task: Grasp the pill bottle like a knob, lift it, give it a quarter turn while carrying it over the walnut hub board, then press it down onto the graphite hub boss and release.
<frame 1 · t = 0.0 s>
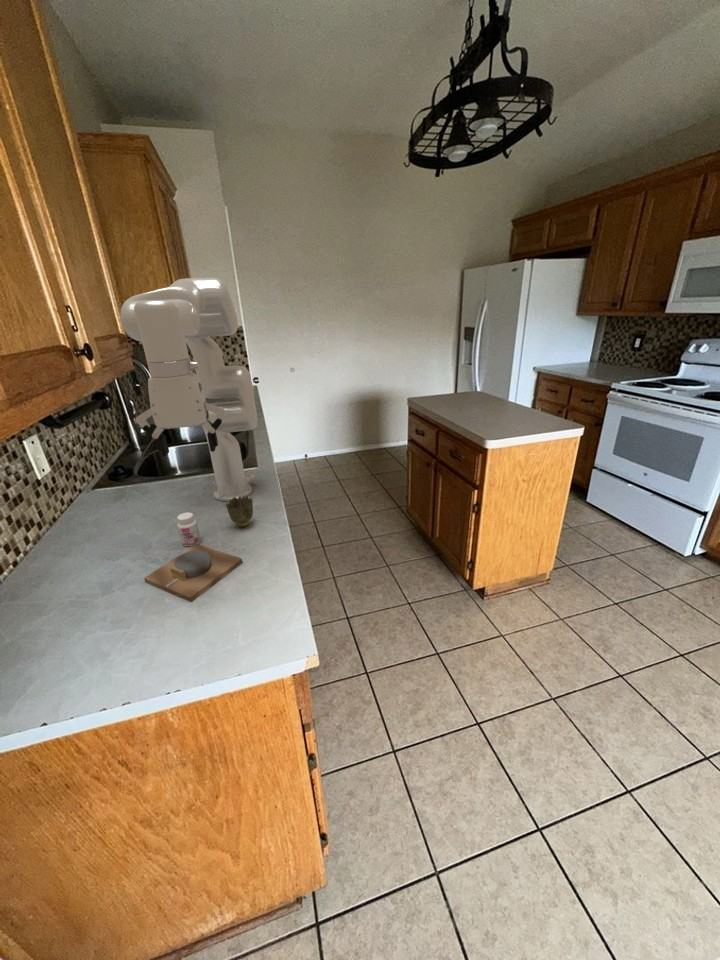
hand: (190, 452, 84), 31 cm above the counter, tool pointing down, fingers open, 9 cm apart
pill bottle: (191, 542, 109), on the counter
hub board: (195, 571, 97), on the counter
cup: (243, 526, 117), on the counter
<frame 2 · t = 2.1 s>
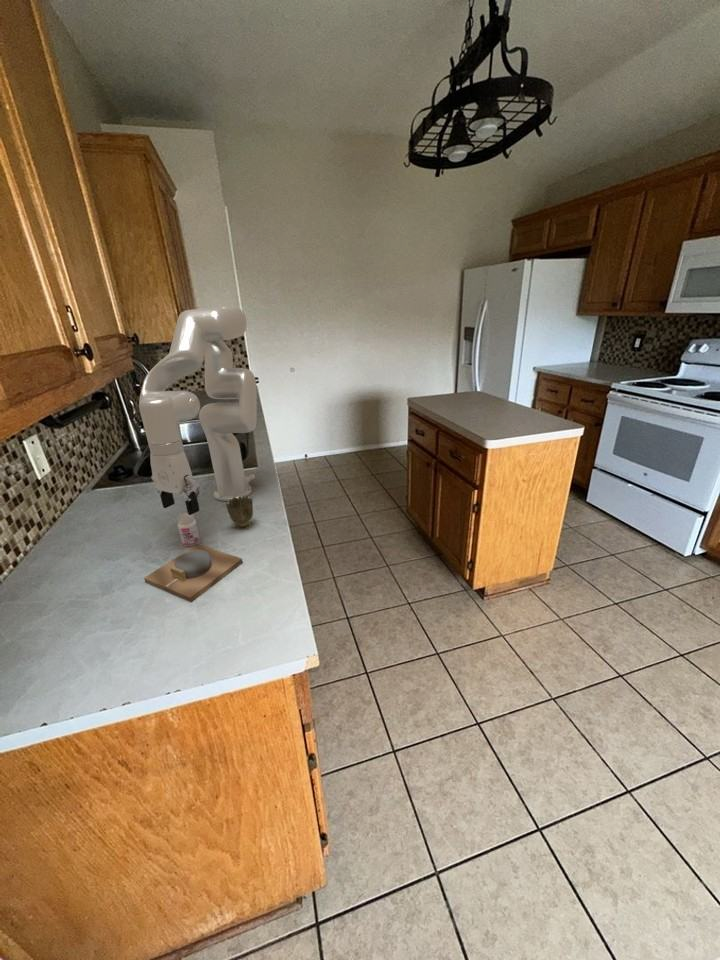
hand: (181, 509, 104), 11 cm above the counter, tool pointing down, fingers open, 9 cm apart
nothing on the counter moved.
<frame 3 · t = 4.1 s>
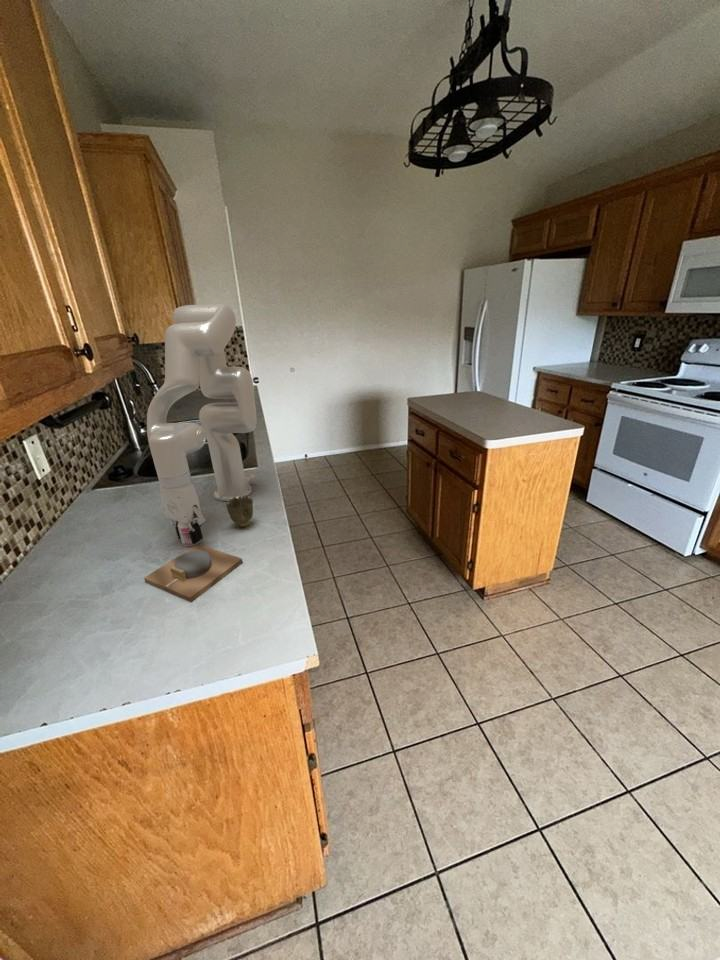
hand: (190, 538, 109), 1 cm above the counter, tool pointing down, fingers closed on pill bottle, 4 cm apart
pill bottle: (191, 542, 109), on the counter, touching gripper
everything else where it was.
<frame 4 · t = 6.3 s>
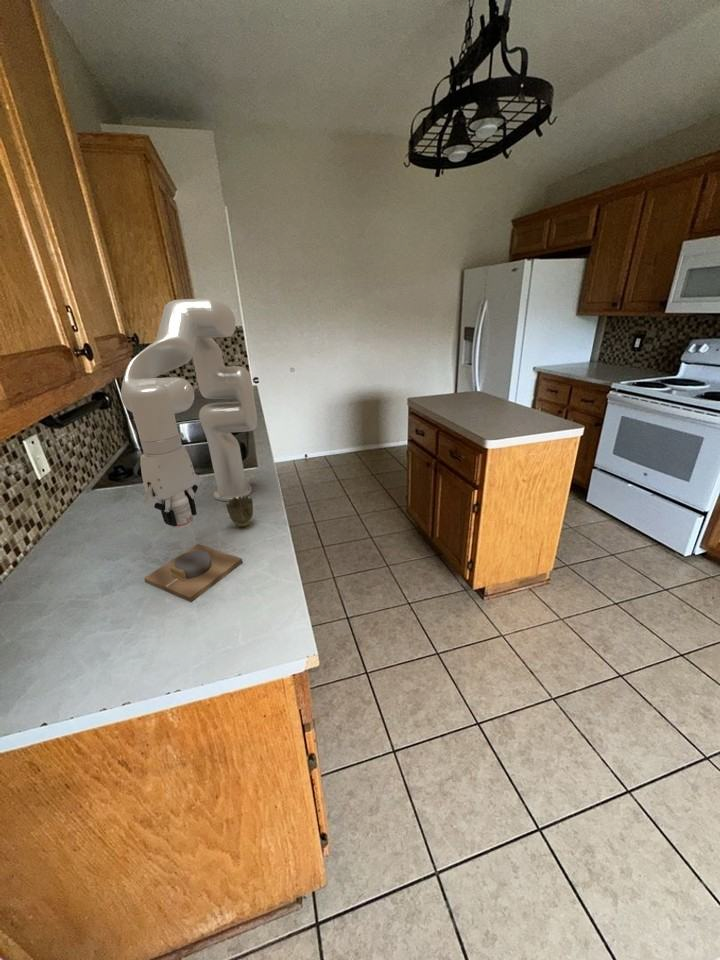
hand: (181, 518, 91), 15 cm above the counter, tool pointing down, fingers closed on pill bottle, 4 cm apart
pill bottle: (182, 523, 91), point 14 cm above the counter, touching gripper
everything else where it was.
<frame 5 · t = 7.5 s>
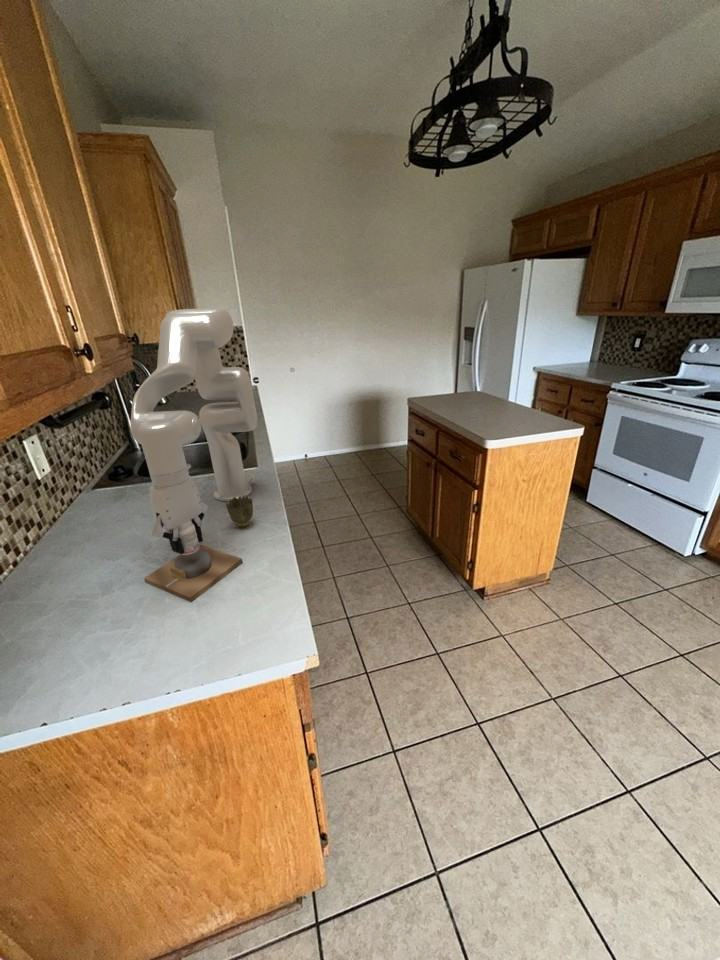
hand: (188, 545, 94), 8 cm above the counter, tool pointing down, fingers closed on pill bottle, 4 cm apart
pill bottle: (189, 550, 94), point 6 cm above the counter, touching gripper
everything else where it was.
when the fingers open (6 cm above the counter, at t = 8.6 s): pill bottle drops 1 cm, resting on hub board.
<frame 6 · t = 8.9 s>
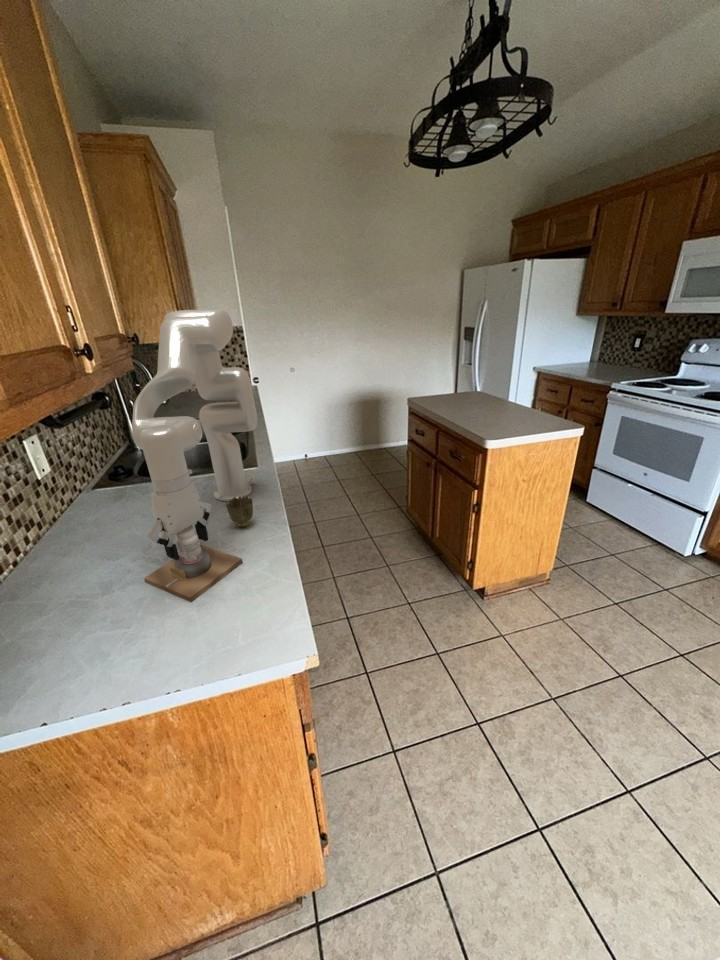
hand: (189, 548, 94), 7 cm above the counter, tool pointing down, fingers open, 8 cm apart
pill bottle: (192, 559, 96), point 4 cm above the counter, touching hub board
everything else where it was.
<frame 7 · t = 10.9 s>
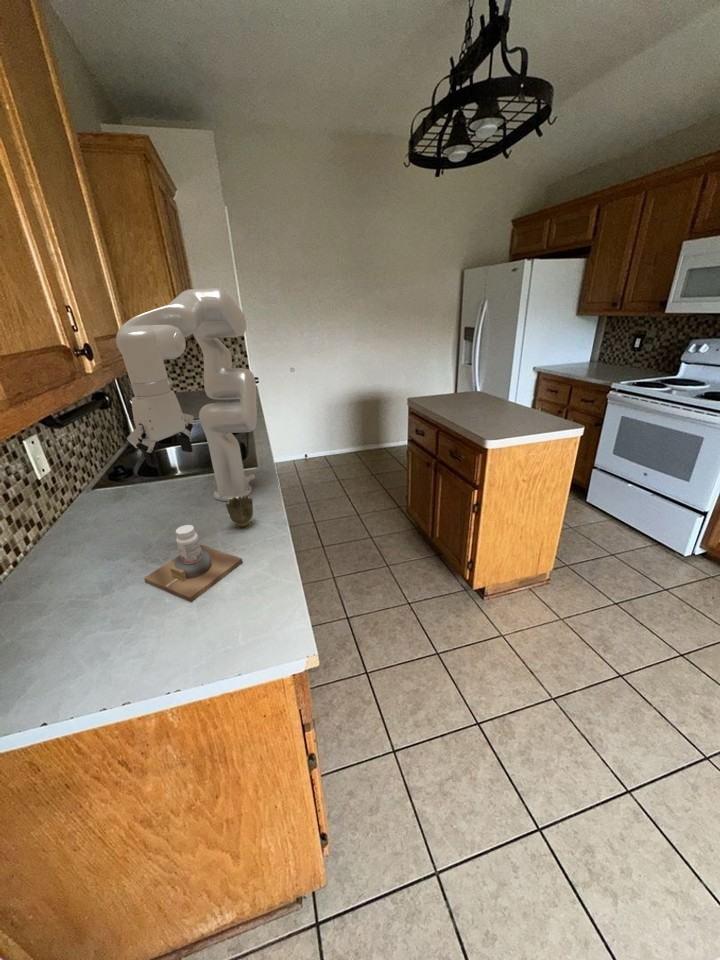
hand: (171, 458, 96), 26 cm above the counter, tool pointing down, fingers open, 9 cm apart
nothing on the counter moved.
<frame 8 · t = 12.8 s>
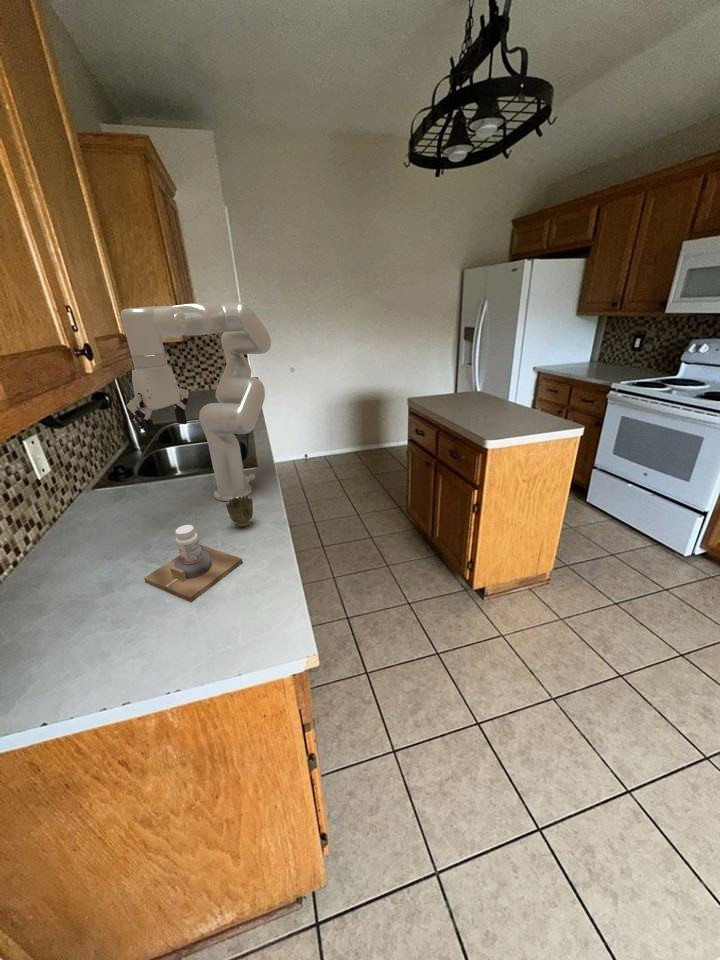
hand: (167, 428, 105), 30 cm above the counter, tool pointing down, fingers open, 9 cm apart
nothing on the counter moved.
at the end: pill bottle 0.3 cm from the hub board (horizontally); pill bottle point 3.5 cm above the counter; pill bottle tilted 0° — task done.
